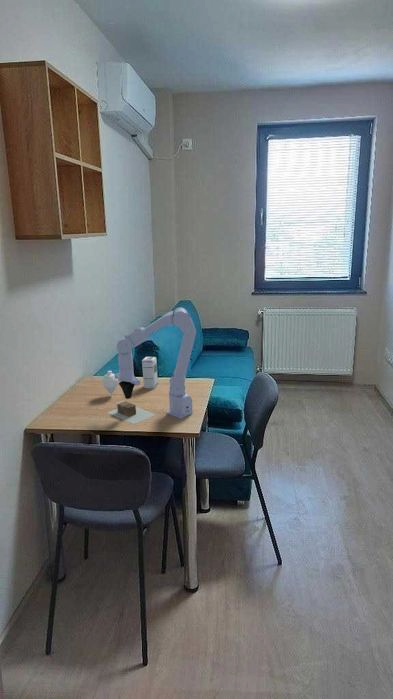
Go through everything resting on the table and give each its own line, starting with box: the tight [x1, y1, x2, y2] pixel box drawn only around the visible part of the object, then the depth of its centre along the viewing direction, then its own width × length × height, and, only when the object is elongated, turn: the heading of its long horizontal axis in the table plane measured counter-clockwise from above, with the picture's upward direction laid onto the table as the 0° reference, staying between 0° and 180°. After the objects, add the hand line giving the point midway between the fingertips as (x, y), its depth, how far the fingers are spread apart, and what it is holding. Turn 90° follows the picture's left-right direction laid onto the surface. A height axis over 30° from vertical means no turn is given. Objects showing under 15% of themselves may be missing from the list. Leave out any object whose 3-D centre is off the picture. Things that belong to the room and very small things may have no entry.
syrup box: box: [141, 356, 159, 389], centre depth 222 cm, size 6×6×14 cm
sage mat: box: [106, 406, 157, 425], centre depth 191 cm, size 18×12×1 cm, turn 46°
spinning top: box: [101, 370, 120, 396], centre depth 212 cm, size 8×8×12 cm
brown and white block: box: [115, 400, 137, 417], centre depth 191 cm, size 4×4×8 cm
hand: (128, 398), depth 188 cm, fingers closed
